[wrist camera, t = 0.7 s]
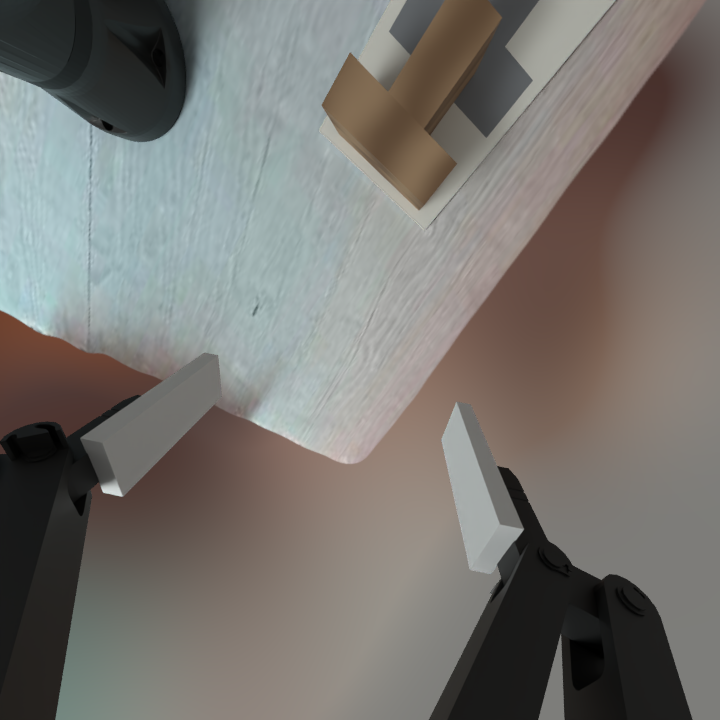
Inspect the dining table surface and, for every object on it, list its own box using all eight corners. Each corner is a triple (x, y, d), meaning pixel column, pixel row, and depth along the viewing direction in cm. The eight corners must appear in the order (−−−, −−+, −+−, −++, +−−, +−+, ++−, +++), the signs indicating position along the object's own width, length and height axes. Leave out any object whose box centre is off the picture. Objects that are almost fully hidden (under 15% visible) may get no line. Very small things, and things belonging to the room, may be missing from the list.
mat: (319, 131, 30) (318, 130, 30) (495, -184, 21) (497, -193, 20) (424, 230, 33) (424, 230, 33) (621, -7, 24) (625, -12, 23)
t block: (338, 133, 30) (321, 105, 23) (415, 3, 25) (421, -81, 18) (418, 210, 32) (424, 204, 25) (503, 103, 27) (538, 61, 21)
